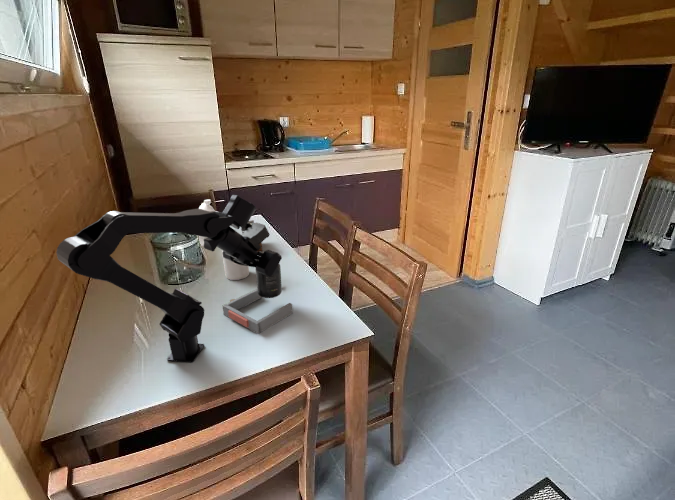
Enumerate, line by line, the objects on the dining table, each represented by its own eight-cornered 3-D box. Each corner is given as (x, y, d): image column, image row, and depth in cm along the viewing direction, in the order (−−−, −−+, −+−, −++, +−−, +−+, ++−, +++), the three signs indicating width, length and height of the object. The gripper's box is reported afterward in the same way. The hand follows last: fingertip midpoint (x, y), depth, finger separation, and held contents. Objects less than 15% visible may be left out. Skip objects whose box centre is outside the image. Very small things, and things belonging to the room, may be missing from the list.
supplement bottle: (285, 289, 110) (283, 250, 105) (276, 300, 104) (273, 260, 99) (264, 286, 111) (261, 248, 107) (253, 297, 105) (249, 257, 101)
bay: (256, 334, 97) (254, 325, 95) (221, 315, 106) (220, 306, 104) (292, 313, 106) (292, 303, 105) (258, 297, 115) (257, 288, 114)
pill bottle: (225, 282, 125) (219, 240, 119) (225, 272, 132) (219, 231, 126) (250, 278, 126) (244, 237, 121) (248, 269, 134) (243, 229, 128)
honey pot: (232, 238, 163) (226, 197, 156) (209, 248, 153) (201, 205, 146) (212, 233, 169) (206, 194, 163) (188, 242, 159) (180, 201, 153)
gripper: (273, 222, 90) (307, 252, 102) (227, 210, 101) (262, 238, 113) (249, 263, 87) (287, 289, 99) (204, 245, 98) (243, 270, 110)
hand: (269, 269), depth 105 cm, fingers closed on supplement bottle, 7 cm apart
